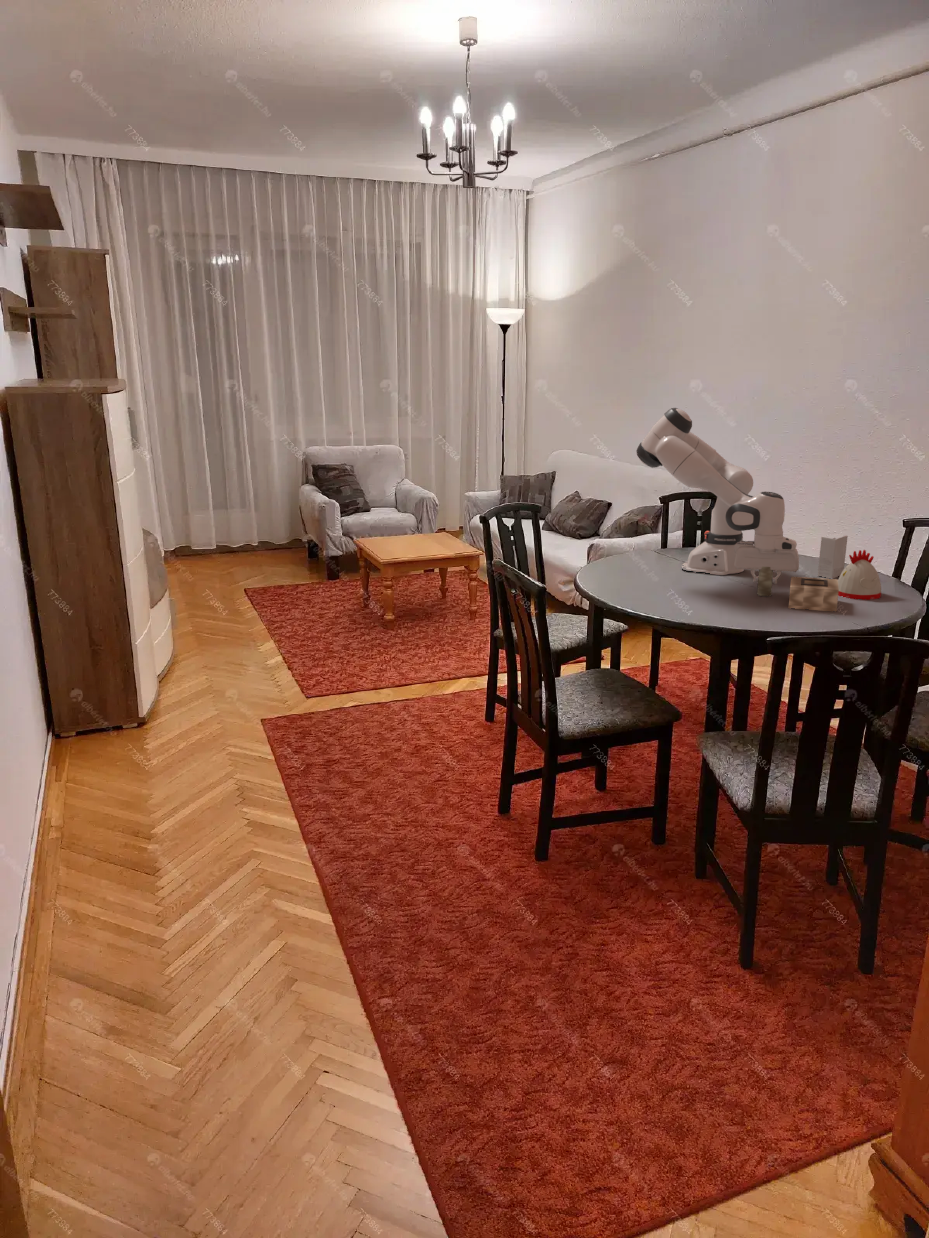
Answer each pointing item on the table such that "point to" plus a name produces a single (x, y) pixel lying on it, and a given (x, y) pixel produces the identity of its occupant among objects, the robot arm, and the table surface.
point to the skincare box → (832, 555)
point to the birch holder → (813, 593)
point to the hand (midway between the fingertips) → (765, 582)
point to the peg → (765, 581)
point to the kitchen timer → (860, 578)
